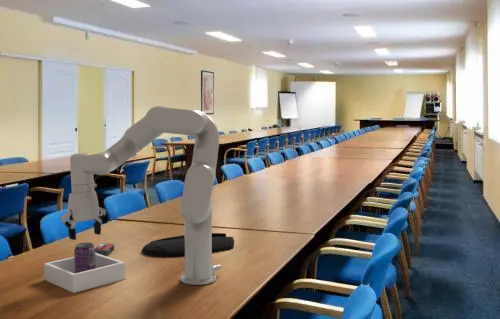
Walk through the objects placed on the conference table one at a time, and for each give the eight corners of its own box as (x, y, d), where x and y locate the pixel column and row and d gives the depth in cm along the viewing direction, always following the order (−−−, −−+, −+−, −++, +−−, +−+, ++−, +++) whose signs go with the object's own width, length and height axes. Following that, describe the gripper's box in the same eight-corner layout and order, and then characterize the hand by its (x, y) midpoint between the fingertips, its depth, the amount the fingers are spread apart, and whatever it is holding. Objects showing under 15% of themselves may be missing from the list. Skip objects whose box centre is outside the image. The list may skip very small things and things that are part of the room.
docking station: (134, 248, 236) (134, 237, 236) (218, 238, 255) (218, 227, 254) (151, 262, 214) (151, 250, 214) (242, 250, 232) (242, 239, 232)
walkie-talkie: (95, 249, 233) (80, 262, 213) (95, 239, 233) (80, 251, 213) (115, 249, 233) (102, 262, 213) (115, 239, 233) (102, 251, 213)
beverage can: (95, 273, 195) (94, 241, 194) (96, 279, 189) (95, 246, 188) (75, 275, 193) (74, 243, 192) (75, 281, 186) (74, 247, 185)
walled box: (94, 267, 205) (94, 252, 204) (125, 278, 191) (124, 262, 191) (44, 279, 190) (44, 263, 190) (73, 292, 177) (73, 275, 176)
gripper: (98, 184, 197) (101, 230, 198) (54, 190, 184) (57, 239, 186) (110, 186, 192) (112, 233, 193) (65, 192, 179) (68, 243, 181)
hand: (85, 236), depth 189 cm, fingers open, 9 cm apart
